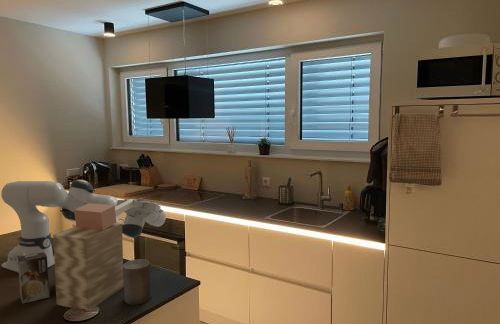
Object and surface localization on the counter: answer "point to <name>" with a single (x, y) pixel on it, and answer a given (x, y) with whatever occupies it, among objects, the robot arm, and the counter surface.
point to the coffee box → (33, 277)
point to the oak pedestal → (88, 265)
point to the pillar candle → (137, 281)
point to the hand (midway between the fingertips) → (129, 201)
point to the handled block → (99, 215)
